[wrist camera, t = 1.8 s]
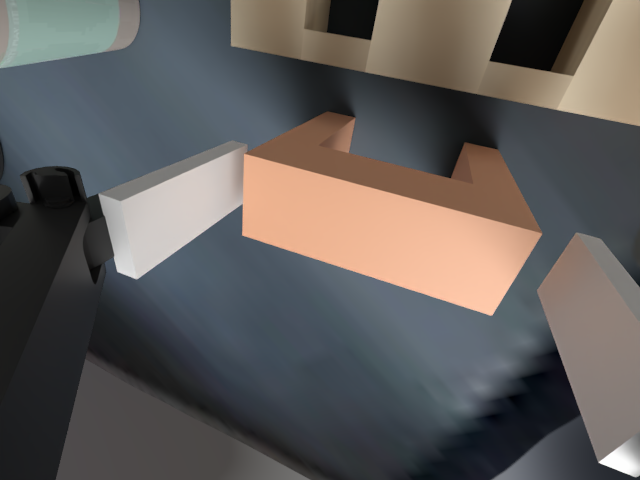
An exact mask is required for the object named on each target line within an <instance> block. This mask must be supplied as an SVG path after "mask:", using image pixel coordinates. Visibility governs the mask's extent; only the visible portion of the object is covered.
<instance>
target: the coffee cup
mask: <svg viewBox="0 0 640 480" xmlns="http://www.w3.org/2000/svg"><path fill="white" fill-rule="evenodd" d="M139 23H140V5H139V0H0V68H5V67H12V66H18V65H25V64H31V63H37V62H44V61H50V60H57V59H63V58H69V57H76V56H82V55H89V54H95V53H101V52H107V51H113V50H119V49H123V48H125V47H127V46H128V45H130V44H131V43H132V41H133V40H134V38H135V37H136V34H137V32H138V28H139Z"/></svg>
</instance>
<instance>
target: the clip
mask: <svg viewBox="0 0 640 480" xmlns="http://www.w3.org/2000/svg"><path fill="white" fill-rule="evenodd" d="M354 123H355V117H351V116H346V115H342V114H337V113H333V112H329V111H327V112H325V113H323V114H321V115H319V116H317V117H315V118H313V119H311V120H309V121H307V122H305V123H303V124H301V125H299V126H297V127H296V128H294V129H292V130H290V131H288V132H286V133H284V134H282V135H280V136H278V137H276V138H274V139H272V140H270V141H268V142H266V143H264V144H262V145H260V146H258V147H256V148H254V149H252V150H250V151H248V152H246V153H244V178H243V236H246V237H249V238H252V239H255V240H258V241H261V242H265V243H268V244H271V245H274V246H277V247H280V248H283V249H286V250H289V251H292V252H296V253H299V254H302V255H305V256H308V257H311V258H314V259H317V260H320V261H323V262H327V263H330V264H333V265H336V266H339V267H342V268H345V269H348V270H351V271H354V272H358V273H361V274H364V275H367V276H370V277H373V278H376V279H379V280H382V281H385V282H389V283H392V284H395V285H398V286H401V287H404V288H407V289H410V290H413V291H416V292H420V293H423V294H426V295H429V296H432V297H435V298H438V299H441V300H444V301H447V302H451V303H454V304H457V305H460V306H463V307H466V308H469V309H472V310H475V311H478V312H482V313H485V314H488V315H491V316H492V315H493V313H494V311H495V310H496V308H497V307H498V305H499V303H500V302H501V300H502V298H503V297H504V295H505V294H506V292H507V290H508V289H509V287H510V285H511V284H512V282H513V281H514V279H515V277H516V276H517V274H518V272H519V271H520V269H521V268H522V266H523V264H524V263H525V261H526V259H527V258H528V256H529V254H530V253H531V251H532V250H533V248H534V246H535V245H536V243H537V241H538V240H539V238H540V237H541V235H542V232H541V230H540V228H539V226H538V224H537V222H536V220H535V219H534V217H533V215H532V213H531V211H530V209H529V207H528V205H527V203H526V202H525V200H524V198H523V196H522V194H521V192H520V190H519V188H518V186H517V184H516V183H515V181H514V179H513V177H512V175H511V173H510V171H509V169H508V167H507V166H506V164H505V162H504V160H503V158H502V156H501V154H500V152H499V150H497V149H493V148H488V147H484V146H479V145H475V144H471V143H466V142H465V143H464V145H463V148H462V151H461V153H460V156H459V158H458V161H457V163H456V166H455V169H454V171H453V174H452V176H451V178H447V177H443V176H439V175H435V174H430V173H426V172H422V171H418V170H414V169H410V168H406V167H402V166H398V165H394V164H390V163H386V162H382V161H378V160H374V159H370V158H366V157H362V156H358V155H354V154H350V153H349V149H350V144H351V139H352V134H353V129H354Z"/></svg>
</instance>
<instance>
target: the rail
mask: <svg viewBox="0 0 640 480" xmlns="http://www.w3.org/2000/svg"><path fill="white" fill-rule="evenodd" d="M511 2H512V0H379V3H378V9H377V14H376V19H375V24H374V29H373V34H372V39H371V40H367V39H361V38H355V37H350V36H344V35H338V34H333V33H327V27H328V20H329V12H330V4H331V0H231V46H234V47H239V48H244V49H249V50H254V51H260V52H265V53H270V54H275V55H280V56H285V57H290V58H295V59H300V60H305V61H311V62H316V63H321V64H326V65H331V66H336V67H341V68H346V69H351V70H357V71H362V72H367V73H372V74H377V75H382V76H387V77H392V78H397V79H403V80H408V81H413V82H418V83H423V84H428V85H433V86H438V87H443V88H449V89H454V90H459V91H464V92H469V93H474V94H479V95H484V96H489V97H494V98H500V99H505V100H510V101H515V102H520V103H525V104H530V105H535V106H540V107H546V108H551V109H556V110H561V111H566V112H571V113H576V114H581V115H586V116H592V117H597V118H602V119H607V120H612V121H617V122H622V123H627V124H632V125H637V126H640V0H584V2H583V4H582V6H581V8H580V10H579V12H578V14H577V16H576V18H575V21H574V23H573V25H572V27H571V29H570V31H569V33H568V35H567V37H566V39H565V42H564V44H563V46H562V48H561V50H560V52H559V54H558V56H557V58H556V60H555V63H554V65H553V67H552V69H551V71H544V70H538V69H532V68H527V67H521V66H515V65H510V64H504V63H498V62H492V61H489V60H490V57H491V54H492V52H493V49H494V47H495V44H496V41H497V39H498V36H499V33H500V31H501V28H502V25H503V23H504V20H505V17H506V15H507V12H508V9H509V7H510V4H511Z"/></svg>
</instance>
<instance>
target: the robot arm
mask: <svg viewBox="0 0 640 480" xmlns="http://www.w3.org/2000/svg"><path fill="white" fill-rule="evenodd" d="M246 152H247V144H243V143H239V142H236V141H230V142H227V143H225V144H222V145H220V146H217V147H215V148H212V149H210V150H207V151H205V152H202V153H200V154H197V155H195V156H192V157H190V158H187V159H185V160H182V161H179V162H177V163H174V164H172V165H169V166H167V167H164V168H162V169H159V170H157V171H154V172H152V173H149V174H147V175H144V176H141V177H139V178H136V179H134V180H131V181H129V182H126V183H124V184H121V185H119V186H116V187H114V188H111V189H109V190H106V191H104V192H101V193H99V194H96V195H93V196H91V197H88V198H87V197H86V194H85V190H84V186H83V183H82V179H81V175H80V172H79V171H78V170H76V169H74V168H70V167H61V166H52V167H42V168H36V169H32V170H29V171H26V172H24V173H23V174H21V175H20V178H21V181H22V183H23V186H24V189H25V191H26V194H27V197H28V199H29V202H30V204H29V203H21V202H16V200H15V198H14V195H13V193H12V190H11V188H10V187H8V186H6V185H1V184H0V480H55V479H56V476H57V472H58V467H59V464H60V459H61V455H62V451H63V447H64V443H65V438H66V435H67V431H68V426H69V422H70V418H71V414H72V410H73V406H74V402H75V397H76V394H77V390H78V385H79V381H80V377H81V373H82V369H83V365H84V361H85V357H86V353H87V349H88V344H89V340H90V336H91V332H92V328H93V324H94V320H95V316H96V312H97V307H98V303H99V299H100V295H101V291H102V287H103V283H104V279H105V275H106V268H105V264H104V262H106V261H107V260H109V259H111V258H112V257H114V260H115V264H116V268H117V272H119V273H122V274H125V275H127V276H130V277H132V278H135V279H138V278H140V277H141V276H142V275H144V274H145V273H147V272H148V271H149V270H151V269H152V268H154V267H155V266H156V265H158V264H159V263H161V262H162V261H163V260H165V259H166V258H167V257H169V256H170V255H172V254H173V253H174V252H176V251H177V250H179V249H180V248H181V247H183V246H184V245H186V244H187V243H188V242H190V241H191V240H193V239H194V238H195V237H197V236H198V235H200V234H201V233H202V232H204V231H205V230H206V229H208V228H209V227H211V226H212V225H213V224H215V223H216V222H218V221H219V220H220V219H222V218H223V217H225V216H226V215H227V214H229V213H230V212H232V211H233V210H234V209H236V208H237V207H239V206H240V205H241V204H243V178H244V153H246ZM2 174H3V155H2V150H1V146H0V179H1V177H2ZM537 292H538V295H539V298H540V301H541V303H542V306H543V309H544V312H545V315H546V317H547V320H548V323H549V326H550V329H551V331H552V334H553V337H554V340H555V342H556V345H557V348H558V351H559V354H560V356H561V359H562V362H563V365H564V368H565V370H566V373H567V376H568V379H569V382H570V384H571V387H572V390H573V393H574V395H575V398H576V401H577V404H578V407H579V409H580V412H581V415H582V418H583V420H584V423H585V426H586V429H587V432H588V435H589V437H590V440H591V443H592V446H593V449H594V451H595V454H596V457H597V459H598V462H599V463H601V464H604V465H606V466H609V467H611V468H614V469H616V470H619V471H621V472H624V473H626V474H629V475H631V476H634V477H637V476H639V475H640V288H639V286H638V285H637V284H636V283H635V281H634V280H633V279H632V278H631V276H630V275H629V274H628V273H627V271H626V270H625V269H624V268H623V266H622V265H621V264H620V263H619V261H618V260H617V259H616V258H615V256H614V255H613V254H612V253H611V251H610V250H609V249H608V248H607V246H606V245H605V244H604V243H603V241H602V240H601V239H599V238H595V237H592V236H588V235H584V234H580V233H577V232H576V234H575V235H574V237H573V238H572V240H571V241H570V243H569V244H568V246H567V247H566V249H565V250H564V251H563V253H562V254H561V256H560V257H559V259H558V260H557V262H556V263H555V265H554V266H553V268H552V269H551V271H550V272H549V274H548V275H547V277H546V278H545V280H544V281H543V282H542V284H541V285H540V287H539V288H538V290H537Z"/></svg>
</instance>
